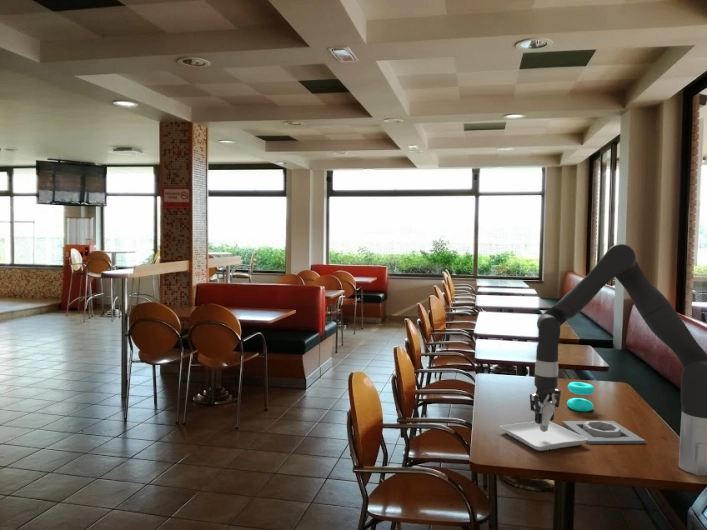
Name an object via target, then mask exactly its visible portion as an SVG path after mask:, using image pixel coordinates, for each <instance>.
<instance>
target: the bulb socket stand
mask: <svg viewBox="0 0 707 530" xmlns="http://www.w3.org/2000/svg"><path fill="white" fill-rule="evenodd" d="M561 424H562V425H563V427H566V429H568V430H570V431H573V432H575V433H577V434H579V435H581V436H583V437H585V438H587V439H588V441H586V442H585V443H587V444H588V445H600V444H601V445H605V444H607V445H611V444H612V445H614V444H619V445H620V444H621V445H622V444H624V445H625V444H627V445H628V444H631V445H632V444H635V445H636V444H646V440H645V439H644V438H642V437H640V436H639V435H637V434H635V433H634V432H632V431H631V430H629V429H627V428H626V427H624V426H623V425H621V424H620V423H618V422H617V421H615V420H561Z"/></svg>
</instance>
